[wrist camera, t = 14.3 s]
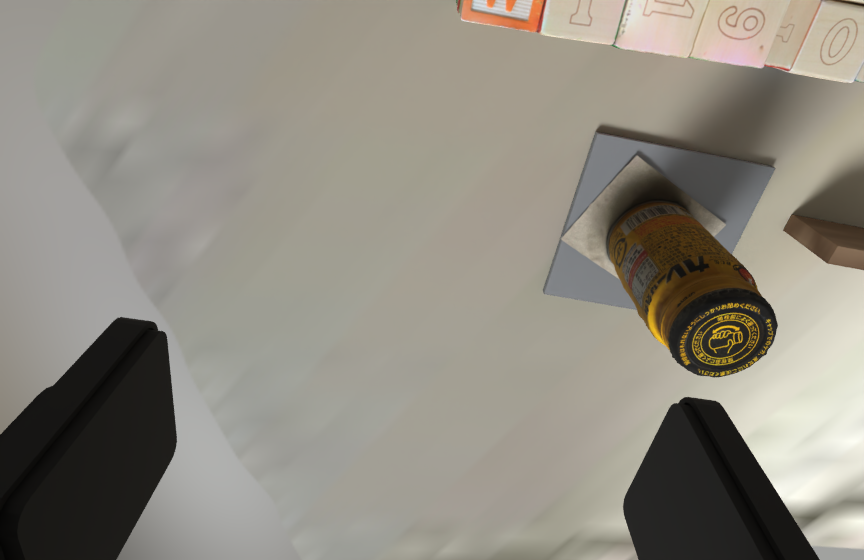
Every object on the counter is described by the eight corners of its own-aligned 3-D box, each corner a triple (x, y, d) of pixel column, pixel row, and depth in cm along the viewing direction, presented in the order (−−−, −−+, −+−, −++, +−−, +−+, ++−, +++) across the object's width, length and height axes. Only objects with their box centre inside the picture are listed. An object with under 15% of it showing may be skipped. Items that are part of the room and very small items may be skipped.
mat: (595, 131, 35) (597, 133, 35) (771, 166, 36) (775, 168, 36) (543, 290, 41) (544, 293, 40) (695, 316, 42) (697, 320, 41)
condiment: (647, 298, 40) (718, 411, 30) (559, 238, 38) (604, 338, 28) (725, 223, 37) (834, 320, 27) (635, 153, 35) (717, 229, 25)
